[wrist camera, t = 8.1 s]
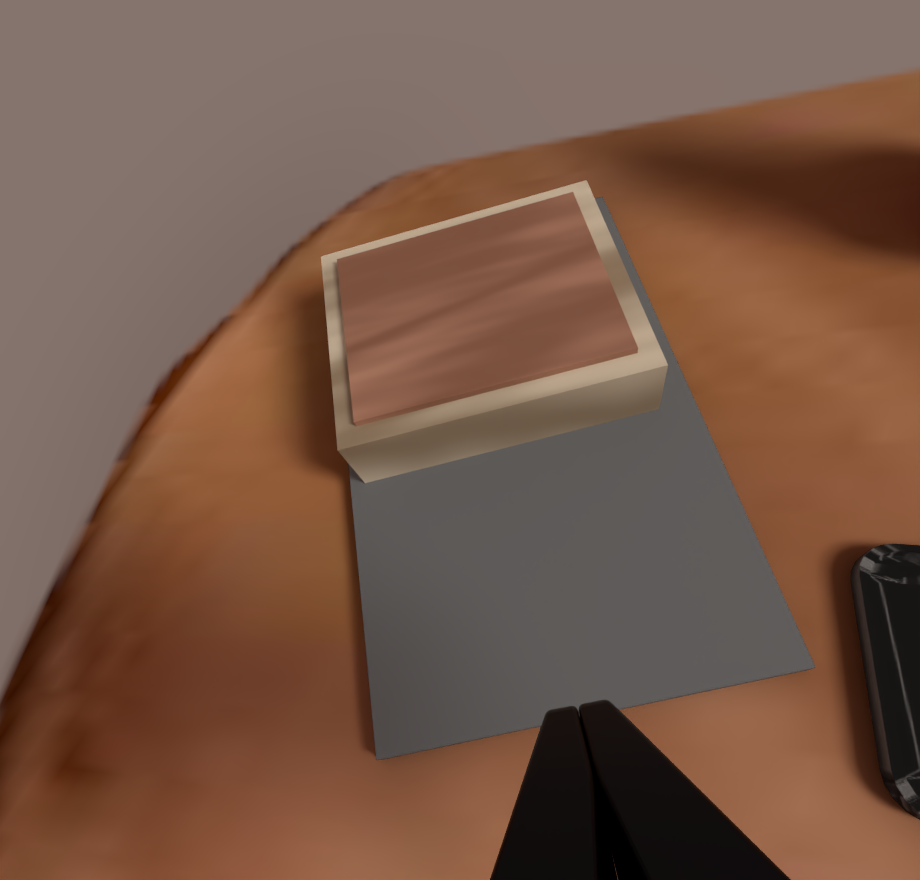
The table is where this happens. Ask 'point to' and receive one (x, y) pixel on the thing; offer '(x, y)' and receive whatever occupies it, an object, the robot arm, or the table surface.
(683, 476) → the rubber mat
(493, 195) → the table surface
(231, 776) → the table surface
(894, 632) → the phone
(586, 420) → the small wooden box
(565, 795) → the robot arm
